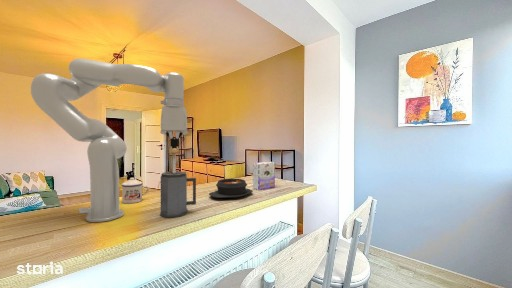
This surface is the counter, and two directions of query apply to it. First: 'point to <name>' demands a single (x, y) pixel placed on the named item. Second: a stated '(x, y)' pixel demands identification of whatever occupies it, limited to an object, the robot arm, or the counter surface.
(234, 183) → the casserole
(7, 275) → the counter surface
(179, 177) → the coffee press
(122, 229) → the counter surface
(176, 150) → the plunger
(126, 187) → the teacup with lid
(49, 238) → the counter surface
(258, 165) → the candy box
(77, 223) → the counter surface
